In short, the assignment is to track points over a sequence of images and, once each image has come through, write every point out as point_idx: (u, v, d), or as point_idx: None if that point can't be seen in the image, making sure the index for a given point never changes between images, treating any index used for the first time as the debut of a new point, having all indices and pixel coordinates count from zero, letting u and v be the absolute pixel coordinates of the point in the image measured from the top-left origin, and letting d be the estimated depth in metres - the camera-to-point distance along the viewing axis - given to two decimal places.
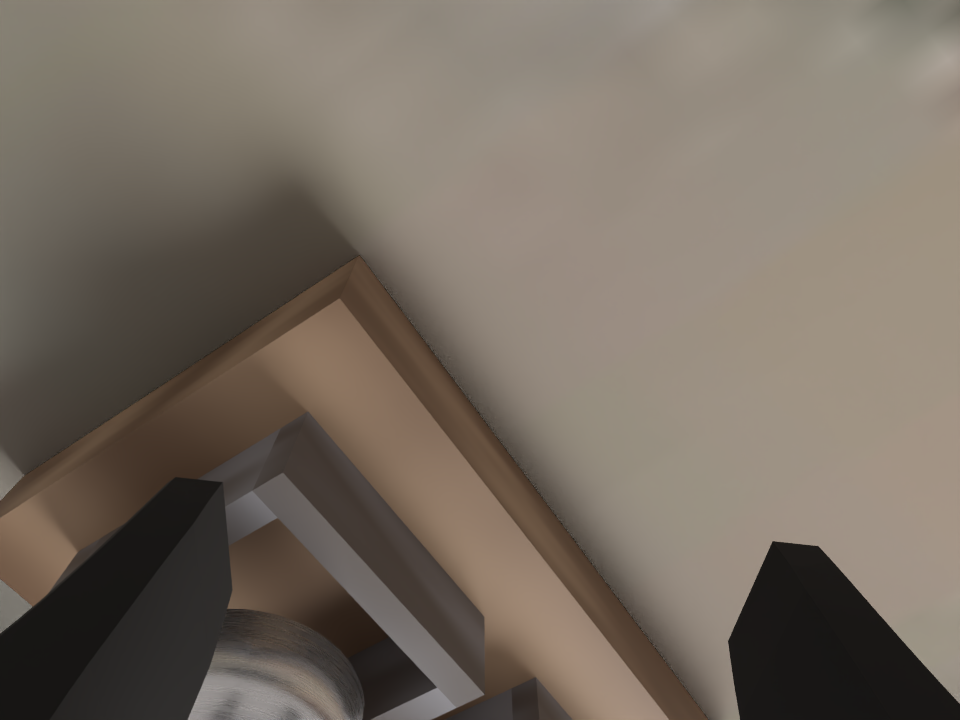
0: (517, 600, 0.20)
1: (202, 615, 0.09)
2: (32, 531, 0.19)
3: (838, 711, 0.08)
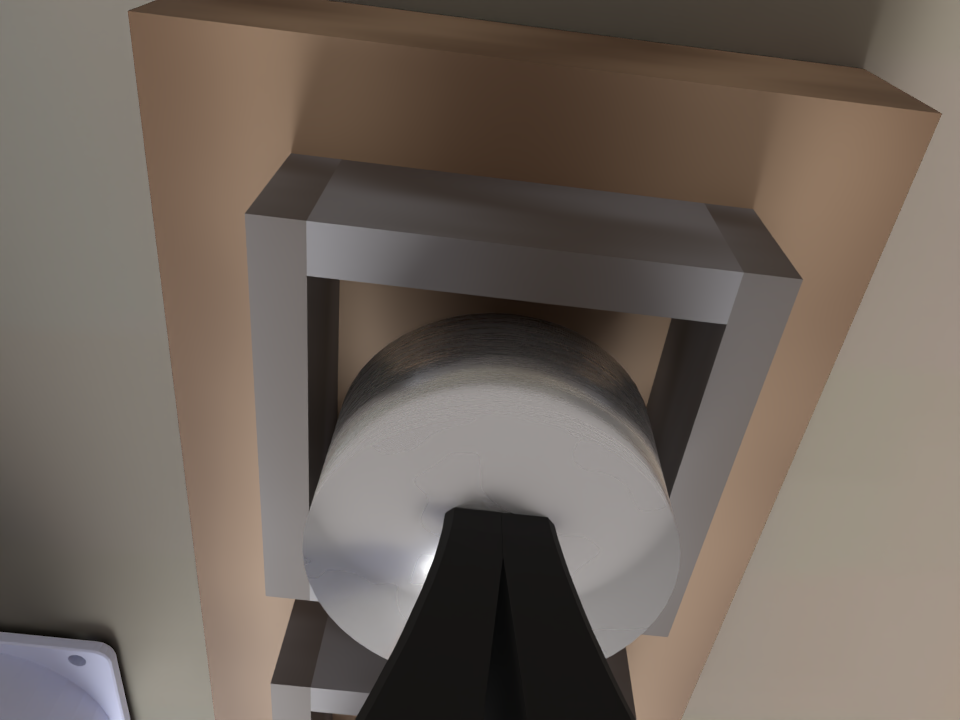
0: None
1: None
2: (258, 78, 0.12)
3: (507, 677, 0.08)
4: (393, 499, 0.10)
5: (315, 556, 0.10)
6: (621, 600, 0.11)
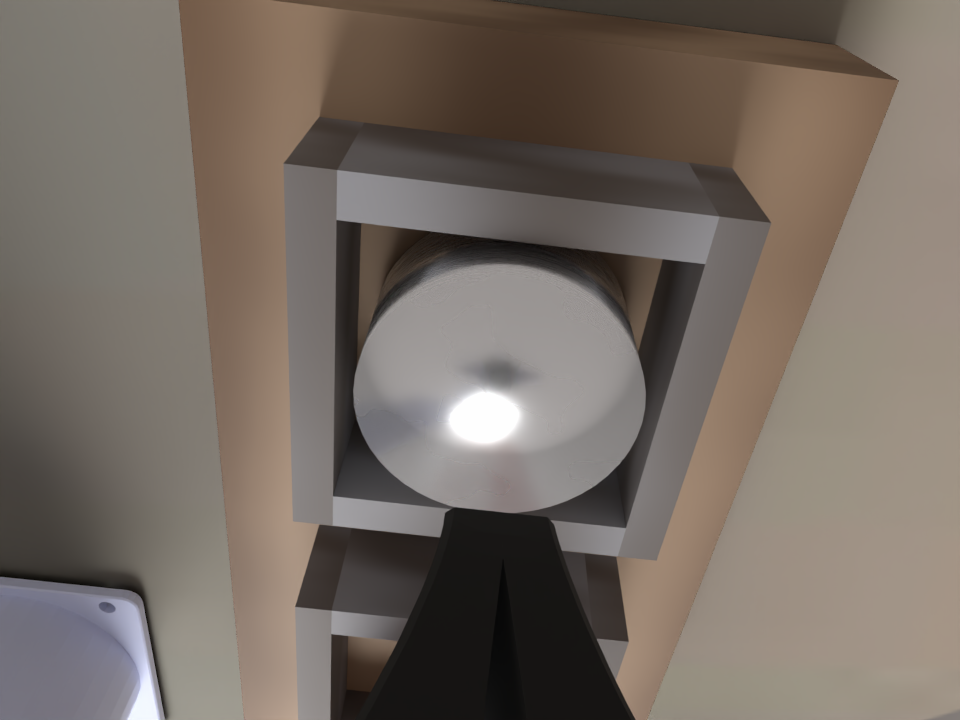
0: (683, 482, 0.18)
1: None
2: (291, 49, 0.13)
3: (507, 677, 0.08)
4: (424, 345, 0.13)
5: (363, 397, 0.13)
6: (601, 435, 0.14)
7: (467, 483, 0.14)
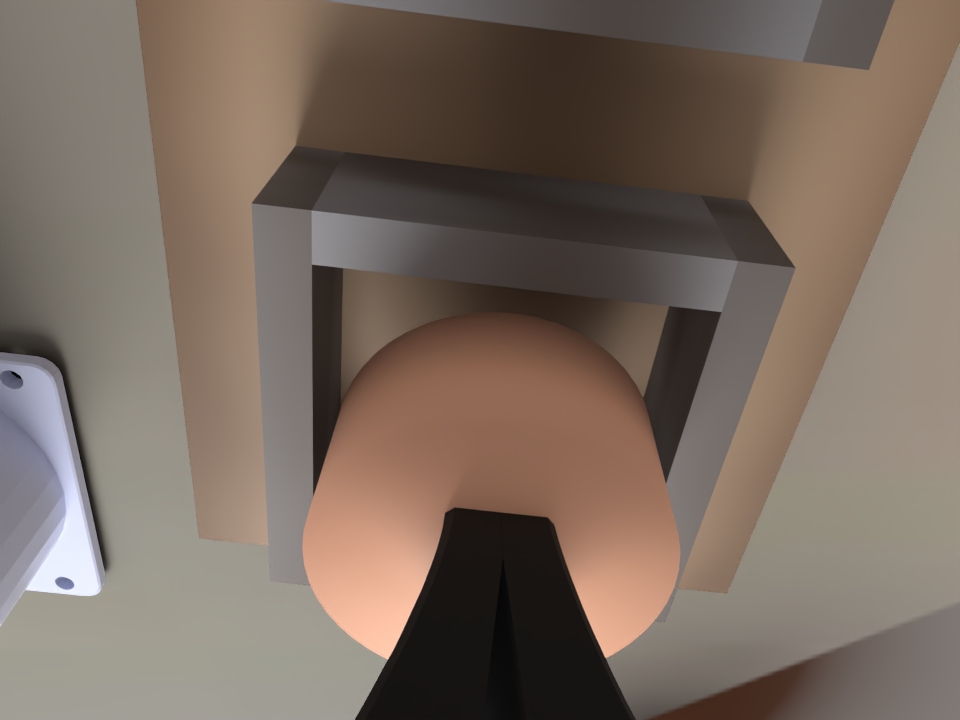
0: None
1: None
2: None
3: (507, 677, 0.08)
4: None
5: None
6: None
7: None
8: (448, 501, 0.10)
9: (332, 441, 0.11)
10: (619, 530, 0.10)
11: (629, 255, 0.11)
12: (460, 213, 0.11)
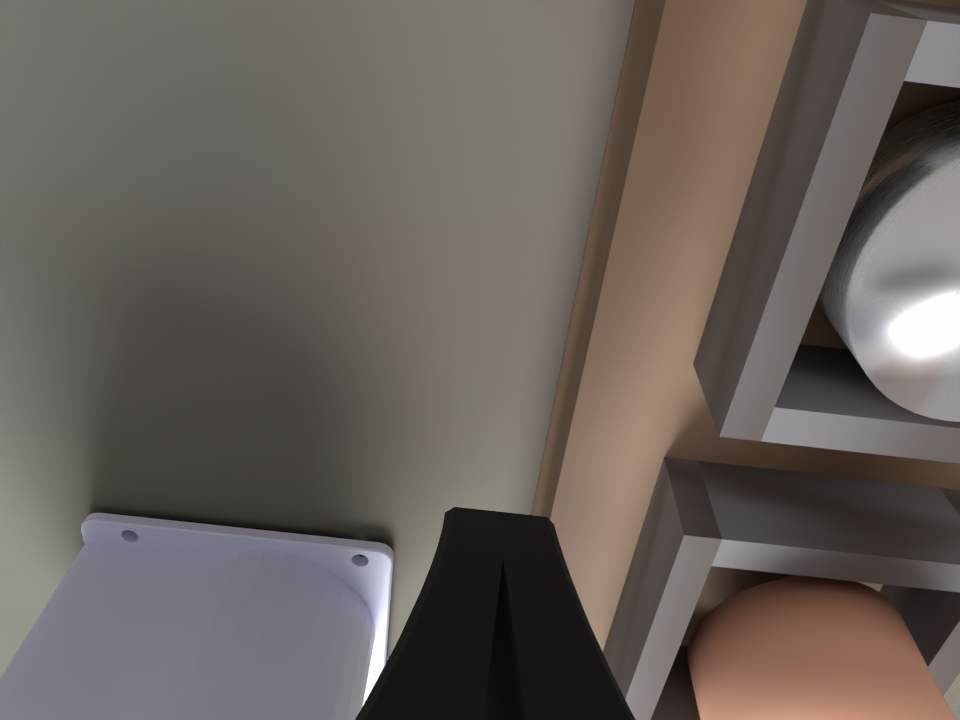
0: None
1: None
2: None
3: (507, 678, 0.08)
4: None
5: (873, 286, 0.12)
6: None
7: (947, 386, 0.13)
8: (817, 715, 0.16)
9: (719, 663, 0.17)
10: None
11: (924, 564, 0.16)
12: (808, 531, 0.16)
